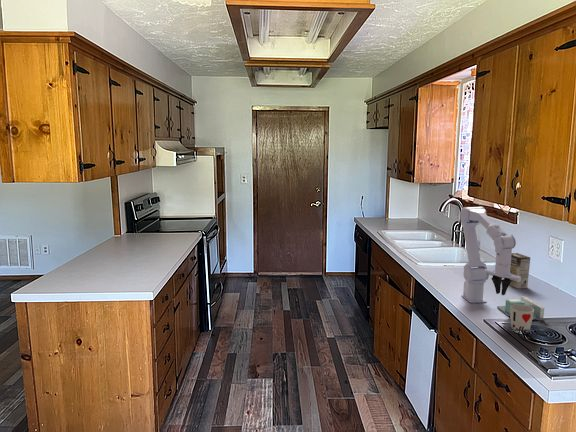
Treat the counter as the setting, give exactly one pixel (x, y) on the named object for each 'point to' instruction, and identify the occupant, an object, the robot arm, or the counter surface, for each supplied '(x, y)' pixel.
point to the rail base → (537, 308)
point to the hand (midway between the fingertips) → (500, 294)
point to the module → (511, 302)
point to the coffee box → (520, 269)
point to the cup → (521, 317)
